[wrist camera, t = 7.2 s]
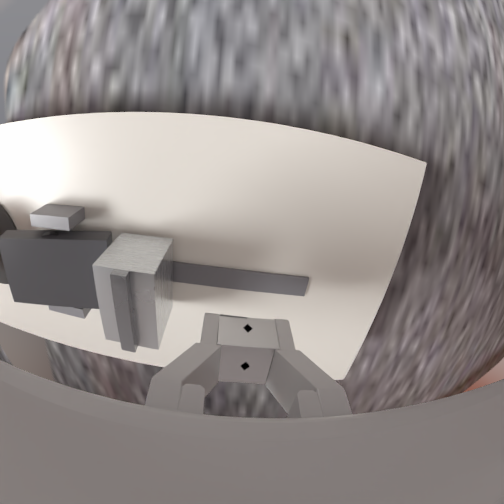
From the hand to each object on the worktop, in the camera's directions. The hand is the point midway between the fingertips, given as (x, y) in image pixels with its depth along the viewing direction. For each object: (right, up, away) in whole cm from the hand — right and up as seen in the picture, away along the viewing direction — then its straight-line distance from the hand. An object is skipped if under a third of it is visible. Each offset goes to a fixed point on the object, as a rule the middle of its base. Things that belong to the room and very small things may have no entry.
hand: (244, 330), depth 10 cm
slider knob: (-4, +2, +2) cm, 5 cm away
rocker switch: (-9, +2, +1) cm, 9 cm away
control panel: (-6, +4, +6) cm, 9 cm away
